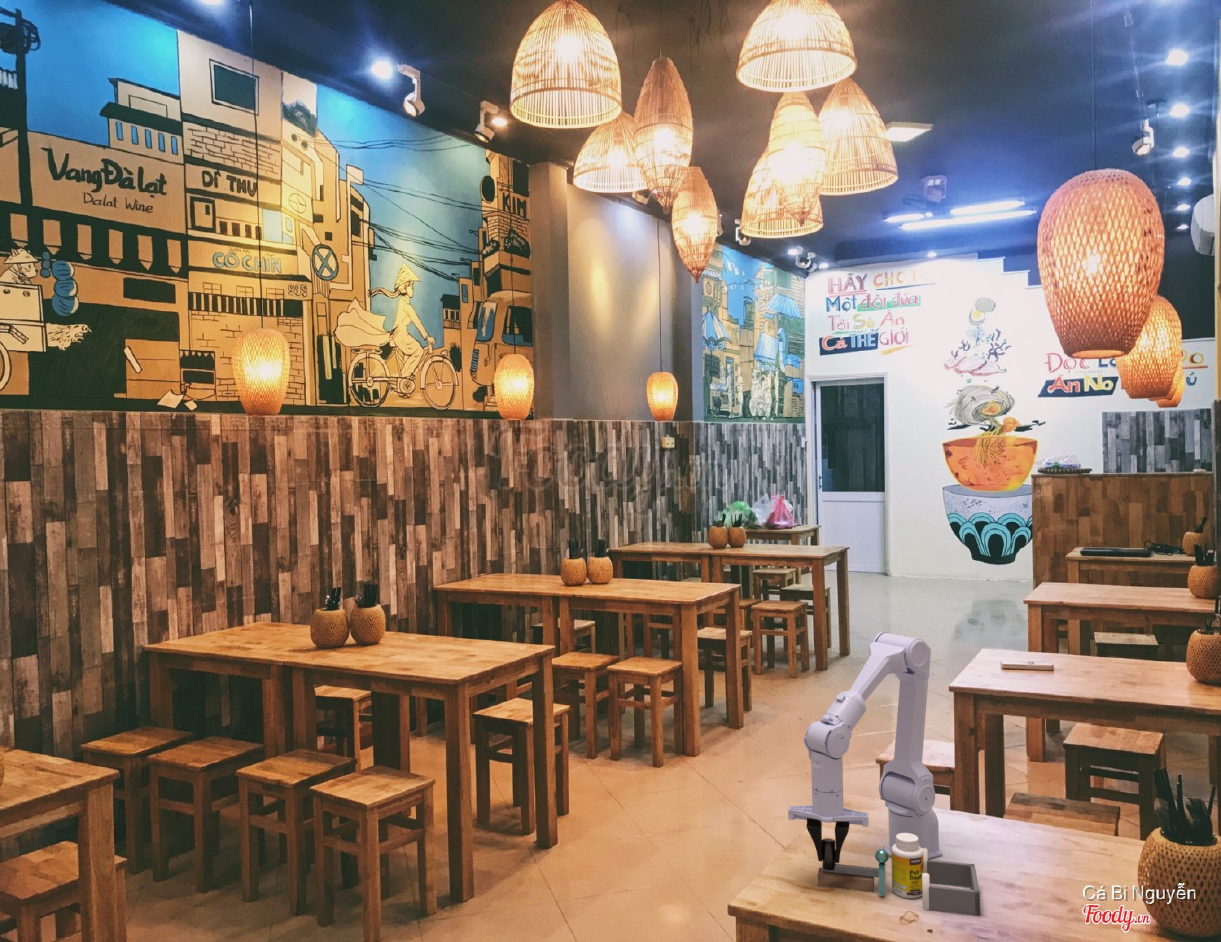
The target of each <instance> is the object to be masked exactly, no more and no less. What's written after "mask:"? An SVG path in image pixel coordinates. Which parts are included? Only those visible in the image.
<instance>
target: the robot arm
mask: <svg viewBox="0 0 1221 942" xmlns="http://www.w3.org/2000/svg"><path fill="white" fill-rule="evenodd" d="M868 652H869V658H868V659H867V661H866V662H865V664H864V665H863V667H862V669H861V671H860V672H859V673H858V676H857V677H856V679H855V681H854V682H853V684H852V686H851V687H850V688H849V690H846V691H845V690H844V691H840V693H838V694H837V695H836V697H835V699H834V701H833V702H832V703H831V705H829V707H828V709H827V710H826V712H825V713H824V714H823V716H822V717H821V719H820V720H816V722H815V721H814V722H813V723H811V724H810V725H809V726H808V727H807V729H806V731H805V736H804V737H803V738H802V739H803V744H804V746H805V748H806V749H807V751H808V758H809V760H810V761H811V762H810V765H811V766H810V767H811V771H810V772H811V774H810V775H811V805H789V806H788V810H787V812H788V816H787V819H788V820H790V821H794V820H805V821H806V829H807V831H808V832H807V833H809V835H810V838H811V840H812V842H813V844H814V847H815V850H816V855H817V860H818V862H822V840H823V838H822V837H823V835H822V834H823V831H822V830H823V827H822V825H823V823H827V824H832V823H835V825H834V840H835V863H836V864H840V858H841V851H842V848H843V845H844V842H845V840H846V838H847V836H848V834H849V830H850V825H859V826H862V827H864V828H865V827H866V828H868V827H869V822H870V821H869V812H864V811H859V810H858V811H857V810H853V809H848V808H845V807H844V776H843V774H844V772H843V770H844V768H843V756H845V754H846V753H847V752H848V750H849V747H850V740H851V738H852V735H853V733H852V732H853V730H854V728H855V727H856V726H857V724H858V723H859V721H860V720H861V719H862V717H863V716H864V715H865V714H866V711H867V706H866V701H867V699H868V698H869V697H870V696H871V695H872V693H874V691H875V690H876V689H877V687H878V686H879V685H880V684H881V683H882V682H883V681H884V680H885V679H886V677H887V676H888V675H890V674H894V675H895V676H896V678H897V679H898V680H899V689H898V690H899V691H898V700H897V702H898V704H897V715H896V727H895V743H894V754H893V755H894V757H893V758H892V759H891V760H889V761H888V762H886V763H885V764H884V765H883V770H882V774H881V777H880V778H879V779H880V780H879V783H878V792H879V796H880V798H881V799H882V800H883V801H884V802H885V804H884V807H886V808H887V809H888V810H887V811H888V814H887V815H888V845H885V846H882V847H879V849H884V850H885V851H886V852H887V853H888V856H889V857H891V858H892V846H893V845H894V844H896V835H897V834H899V833H910V834H914V835H916V836H917V837H918V839H919V846H920V847H921V848H926V849H927V853H928V860H931V859H933V858H936V857H939V856H942V855H943V851H940V838H939V837H940V836H939V835H940V834H939V829H940V828H939V820H938V816H937V814H936V813H935V811H934V809H933V807H934V805H935V802H936V791H935V786H934V775H933V774H932V772H930V770H929V769H928V768H927V767H926V766H925V764H924V762H923V756H924V755H923V753H924V740H925V727H926V715H927V713H926V712H927V700H928V687H929V686H928V685H929V678H930V670H931V669H930V666H931V657H932V656H931V655H932V649H931V647H930V646H929V645H928V643H927V642H926V640H924V639H923V638H921V637H913V636H912V637H911V636H907V635H900V634H895V633H889V632H887V631H881V632H878V633H877V634H876V636H875V637H874V639H873V641H872V642H871V643H870V644H869V646H868ZM822 863H823V862H822Z"/></svg>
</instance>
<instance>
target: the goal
mask: <svg viewBox="0 0 1221 942" xmlns="http://www.w3.org/2000/svg"><path fill="white" fill-rule="evenodd" d="M922 850H923V863H924V873H922V893H923V895H922V909H923V910H924V911H934V912H943V913H951V914H962V915H968V916H969V915H970V916H979V917H980V916H981V893H980V892H981V891H980V886H979V881H978V875H977V870H976V866H975V865H976V864H974V863H966V862H965V863H964V862H957V861H956V862H955V861H947V860H945V861H944V860H936V859H928V853H927V849H926V848H922ZM930 884H931V885H930ZM932 884H937V885H932ZM938 885H939V886H938ZM940 885H947V886H940ZM949 886H950V887H949ZM951 886H953V887H951ZM955 886H956V887H955ZM958 887H963V888H958ZM964 887H965V888H964ZM966 888H970V889H966Z"/></svg>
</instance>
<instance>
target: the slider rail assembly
mask: <svg viewBox="0 0 1221 942" xmlns="http://www.w3.org/2000/svg"><path fill="white" fill-rule="evenodd" d="M835 850H836V843H835V839H833V838H829V837H826V838H822V865H821V868H822V871H823V872H832V873H841V874H850V875H859V876H868V877H874V878H878V895H879V896H881V897H882V896H884V897H885V896H886V862H888V860H889V858H890V856H889V855H888V853H887V852H886V851H885V850H884V849H880V848H878V849H877V850H876V851H875V852H874V857H875V860H876V862H878V867H870V866H861V865H851V864H841V863H835Z"/></svg>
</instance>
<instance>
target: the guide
mask: <svg viewBox="0 0 1221 942" xmlns="http://www.w3.org/2000/svg"><path fill="white" fill-rule="evenodd" d="M817 886H818V887H823V888H825V887H826V888H833V889H843V890H849V889H853V890H852V891H858V890H859V891H860V892H866V893H867V892H868V893H874V892H875V877H868V876H859V875H850V874H841V873H832V872H823V871H822V867H819V868H818V871H817ZM854 889H855V890H854Z"/></svg>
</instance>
